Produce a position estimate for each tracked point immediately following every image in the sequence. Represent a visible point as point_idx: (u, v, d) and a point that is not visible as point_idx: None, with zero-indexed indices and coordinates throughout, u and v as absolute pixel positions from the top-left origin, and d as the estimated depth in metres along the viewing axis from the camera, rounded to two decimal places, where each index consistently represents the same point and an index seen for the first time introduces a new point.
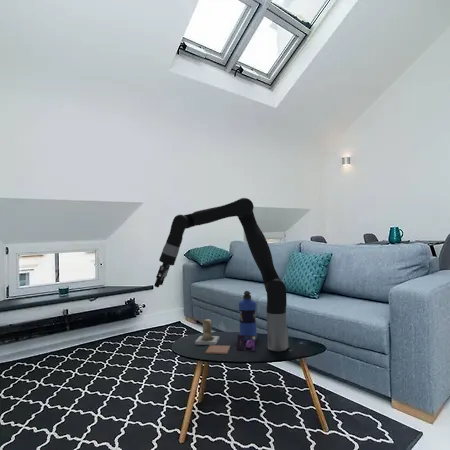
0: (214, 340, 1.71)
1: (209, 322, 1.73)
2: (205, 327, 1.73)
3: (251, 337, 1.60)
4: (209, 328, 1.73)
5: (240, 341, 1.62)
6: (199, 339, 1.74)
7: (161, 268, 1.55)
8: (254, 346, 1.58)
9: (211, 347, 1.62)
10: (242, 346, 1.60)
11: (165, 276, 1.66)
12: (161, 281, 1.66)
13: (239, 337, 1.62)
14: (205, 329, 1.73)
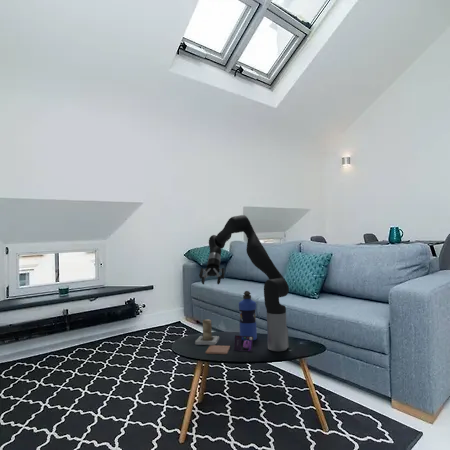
0: (214, 340, 1.71)
1: (209, 322, 1.73)
2: (205, 327, 1.73)
3: (248, 338, 1.60)
4: (209, 328, 1.73)
5: (237, 341, 1.61)
6: (199, 339, 1.74)
7: None
8: None
9: (211, 347, 1.62)
10: (239, 346, 1.60)
11: (219, 275, 1.89)
12: None
13: (236, 337, 1.62)
14: (205, 329, 1.73)
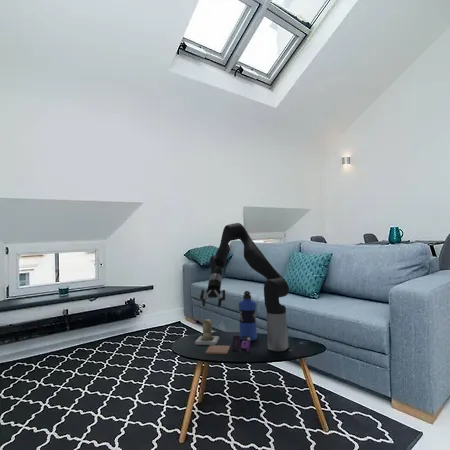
0: (214, 340, 1.71)
1: (209, 322, 1.73)
2: (205, 327, 1.73)
3: (246, 338, 1.59)
4: (209, 328, 1.73)
5: (235, 341, 1.61)
6: (199, 339, 1.74)
7: None
8: None
9: (211, 347, 1.62)
10: (237, 347, 1.59)
11: (219, 297, 1.89)
12: None
13: (234, 338, 1.62)
14: (205, 329, 1.73)
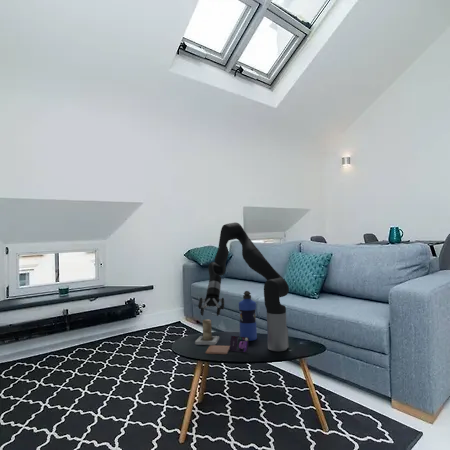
0: (214, 340, 1.71)
1: (209, 322, 1.73)
2: (205, 327, 1.73)
3: (244, 338, 1.59)
4: (209, 328, 1.73)
5: (233, 342, 1.60)
6: (199, 339, 1.74)
7: None
8: (246, 347, 1.57)
9: (211, 347, 1.62)
10: (234, 347, 1.59)
11: (218, 306, 1.84)
12: (217, 311, 1.82)
13: (232, 338, 1.61)
14: (205, 329, 1.73)
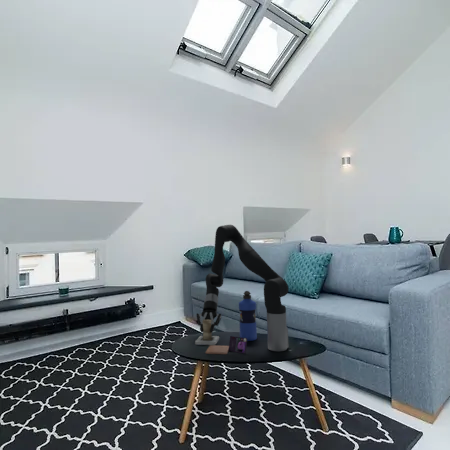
0: (214, 340, 1.71)
1: (209, 322, 1.73)
2: (205, 327, 1.73)
3: (242, 339, 1.58)
4: (209, 328, 1.73)
5: (232, 342, 1.60)
6: (199, 339, 1.74)
7: (197, 317, 1.80)
8: (244, 348, 1.55)
9: (211, 347, 1.62)
10: (233, 347, 1.58)
11: (212, 322, 1.75)
12: (211, 328, 1.74)
13: (231, 338, 1.61)
14: (205, 329, 1.73)
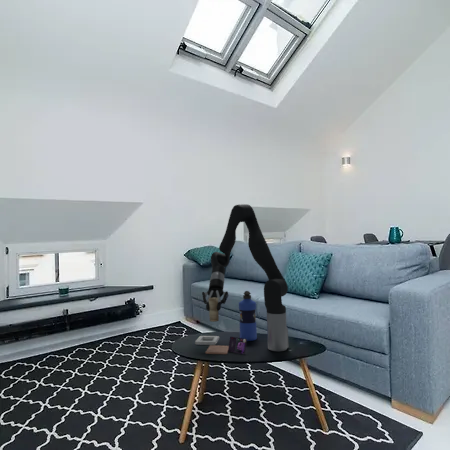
0: (214, 340, 1.71)
1: (215, 300, 1.65)
2: (211, 305, 1.64)
3: (242, 340, 1.57)
4: (216, 306, 1.64)
5: (232, 343, 1.59)
6: (199, 339, 1.74)
7: None
8: (243, 349, 1.54)
9: (211, 347, 1.62)
10: (233, 348, 1.58)
11: (219, 300, 1.66)
12: None
13: (231, 339, 1.60)
14: (211, 307, 1.64)
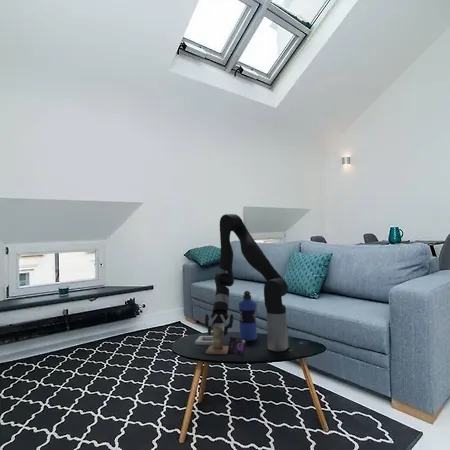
0: None
1: (220, 327, 1.59)
2: (216, 333, 1.58)
3: (241, 340, 1.55)
4: (220, 334, 1.59)
5: (231, 343, 1.58)
6: (199, 339, 1.74)
7: None
8: (242, 350, 1.53)
9: (211, 347, 1.62)
10: (232, 349, 1.57)
11: (226, 324, 1.61)
12: (224, 331, 1.59)
13: (231, 339, 1.59)
14: (216, 335, 1.58)
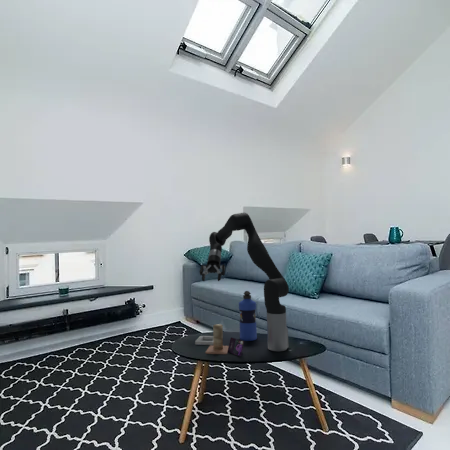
0: None
1: (220, 327, 1.59)
2: (216, 333, 1.58)
3: (239, 341, 1.54)
4: (220, 334, 1.58)
5: (231, 343, 1.58)
6: (199, 339, 1.74)
7: None
8: (240, 351, 1.51)
9: (211, 347, 1.62)
10: (232, 349, 1.56)
11: (219, 272, 1.88)
12: (218, 277, 1.86)
13: (231, 339, 1.58)
14: (216, 335, 1.58)
